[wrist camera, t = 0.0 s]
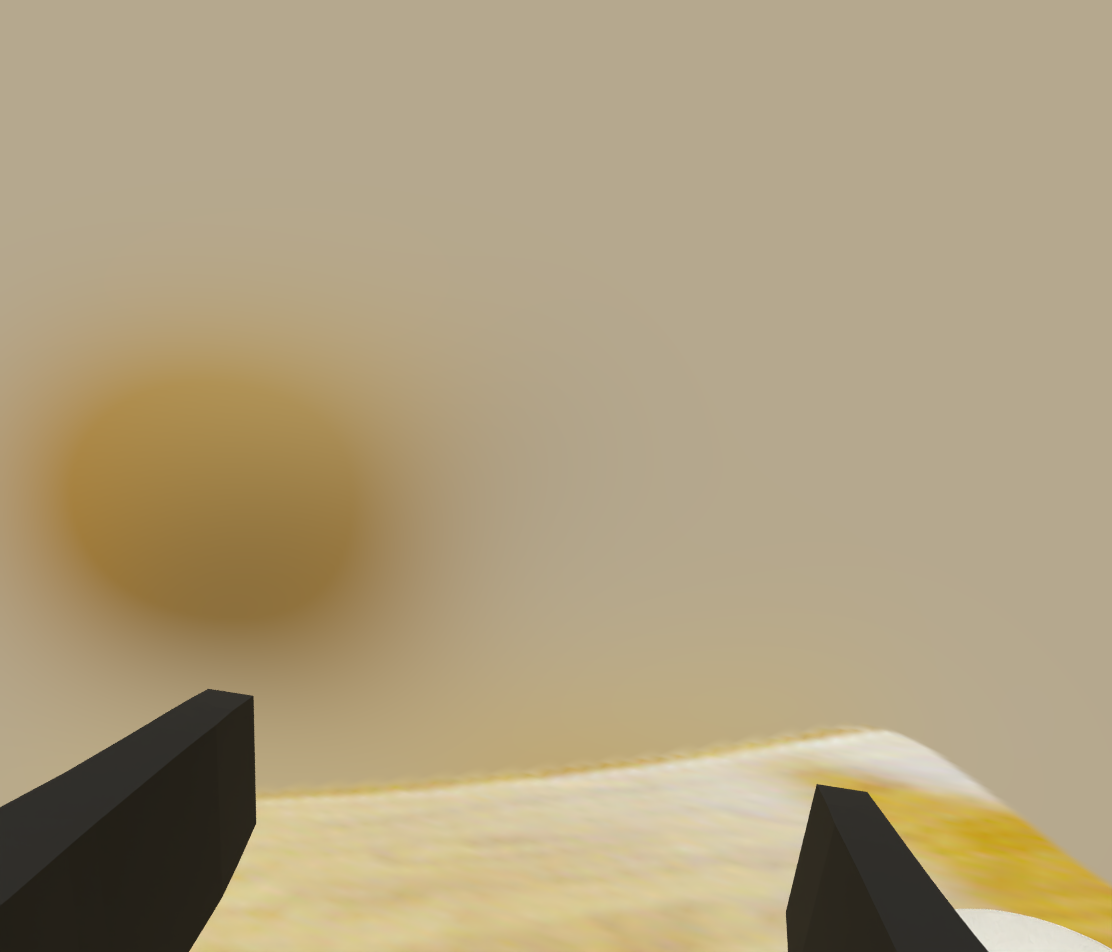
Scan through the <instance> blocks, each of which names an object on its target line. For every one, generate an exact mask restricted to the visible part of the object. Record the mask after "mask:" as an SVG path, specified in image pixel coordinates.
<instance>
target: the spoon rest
mask: <svg viewBox="0 0 1112 952" xmlns="http://www.w3.org/2000/svg"><path fill="white" fill-rule="evenodd" d="M955 911H956V912H957V913H958V914H959V916H960V917H961V918H962V919H963V921H964V922H965V923H966V924H967V926H968V927H969V928H970V930H971V931H972V932H973V933H974V935H975V936H976V937H977V938H978V939H979V941H980V942H981V943H982V944H983V945H984V947H985V948H986V949H987V950H988V952H1112V949H1111V948H1109V947H1107V946H1105V945H1103V944H1101V943H1099V942H1097V941H1095V940H1093V939H1091V938H1089V937H1086V936H1084V935H1082V934H1080V933H1077V932H1075V931H1072V930H1070V929H1068V928H1065V927H1063V926H1060V925H1057V924H1054V923H1051V922H1047V921H1044V920H1041V919H1037V918H1033V917H1029V916H1025V915H1020V914H1015V913H1010V912H1004V911H999V910H990V909H955Z"/></svg>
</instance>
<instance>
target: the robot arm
mask: <svg viewBox="0 0 1112 952" xmlns="http://www.w3.org/2000/svg"><path fill="white" fill-rule="evenodd" d="M254 751H255V747H254V700H253V696H250V695H244V694H237V693H231V692H225V691H219V690H212V689H207V690H205V691H204V692H202V693H200V694H198V695H196V696H194V697H192V698H191V699H189V700H187V701H185V702H184V703H182V704H181V705H179V706H177V707H175V708H174V709H172V710H170V711H168V712H167V713H165V714H163V715H162V716H160V717H158V718H157V719H155V720H153V721H152V722H150V723H149V724H147V725H145V726H144V727H142V728H140V729H139V730H137V731H135V732H133V733H132V734H130V735H128V736H127V737H125V738H123V739H122V740H120V741H118V742H117V743H115V744H113V745H111V746H110V747H108V748H106V749H105V750H103V751H101V752H99V753H98V754H96V755H94V756H93V757H91V758H89V759H87V760H86V761H84V762H82V763H81V764H79V765H77V766H76V767H74V768H72V769H71V770H69V771H67V772H65V773H64V774H62V775H60V776H58V777H56V778H54V779H52V780H50V781H48V782H47V783H45V784H43V785H41V786H39V787H37V788H35V789H33V790H32V791H30V792H28V793H26V794H24V795H22V796H20V797H19V798H17V799H15V800H13V801H11V802H9V803H7V804H5V805H4V806H2V807H0V952H189V951H190V949H191V948H192V946H193V944H194V943H195V941H196V939H197V938H198V936H199V935H200V933H201V931H202V930H203V928H204V926H205V925H206V923H207V921H208V920H209V918H210V917H211V915H212V913H213V912H214V910H215V908H216V907H217V905H218V903H219V902H220V900H221V898H222V897H223V894H224V892H225V890H226V888H227V886H228V884H229V882H230V880H231V878H232V876H233V873H234V871H235V869H236V867H237V865H238V863H239V861H240V858H241V856H242V854H243V852H244V849H245V847H246V845H247V843H248V840H249V838H250V836H251V834H252V831H253V829H254V827H255V825H256V793H255V752H254ZM786 923H787V941H788V952H988V950H987V949H986V948H985V947H984V945H983V944H982V943H981V942H980V941H979V939H978V938H977V937H976V936H975V935H974V933H973V932H972V931H971V930H970V928H969V927H968V926H967V924H966V923H965V922H964V921H963V919H962V918H961V917H960V916H959V914H958V913H957V912H956V911H955V909H954V908H953V907H952V906H951V904H950V903H949V902H948V900H947V899H946V898H945V897H944V895H943V894H942V893H941V891H940V890H939V889H938V887H937V886H936V885H935V883H934V882H933V881H932V879H931V878H930V877H929V875H928V874H927V873H926V871H925V870H924V869H923V867H922V866H921V865H920V863H919V862H918V861H917V859H916V858H915V857H914V855H913V854H912V852H911V851H910V850H909V848H908V847H907V846H906V844H905V843H904V842H903V840H902V839H901V837H900V836H899V835H898V833H897V832H896V831H895V829H894V828H893V826H892V825H891V824H890V822H889V821H888V820H887V818H886V817H885V816H884V814H883V813H882V811H881V810H880V809H879V807H878V806H877V805H876V803H875V802H874V801H873V799H872V798H871V797H870V795H869V794H868V793H867V792H863V791H857V790H850V789H844V788H838V787H831V786H825V785H818V784H817V785H816V790H815V794H814V798H813V802H812V806H811V810H810V814H809V819H808V823H807V827H806V831H805V835H804V839H803V843H802V848H801V852H800V856H799V860H798V864H797V868H796V872H795V877H794V881H793V885H792V889H791V893H790V897H789V901H788V906H787V910H786Z"/></svg>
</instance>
